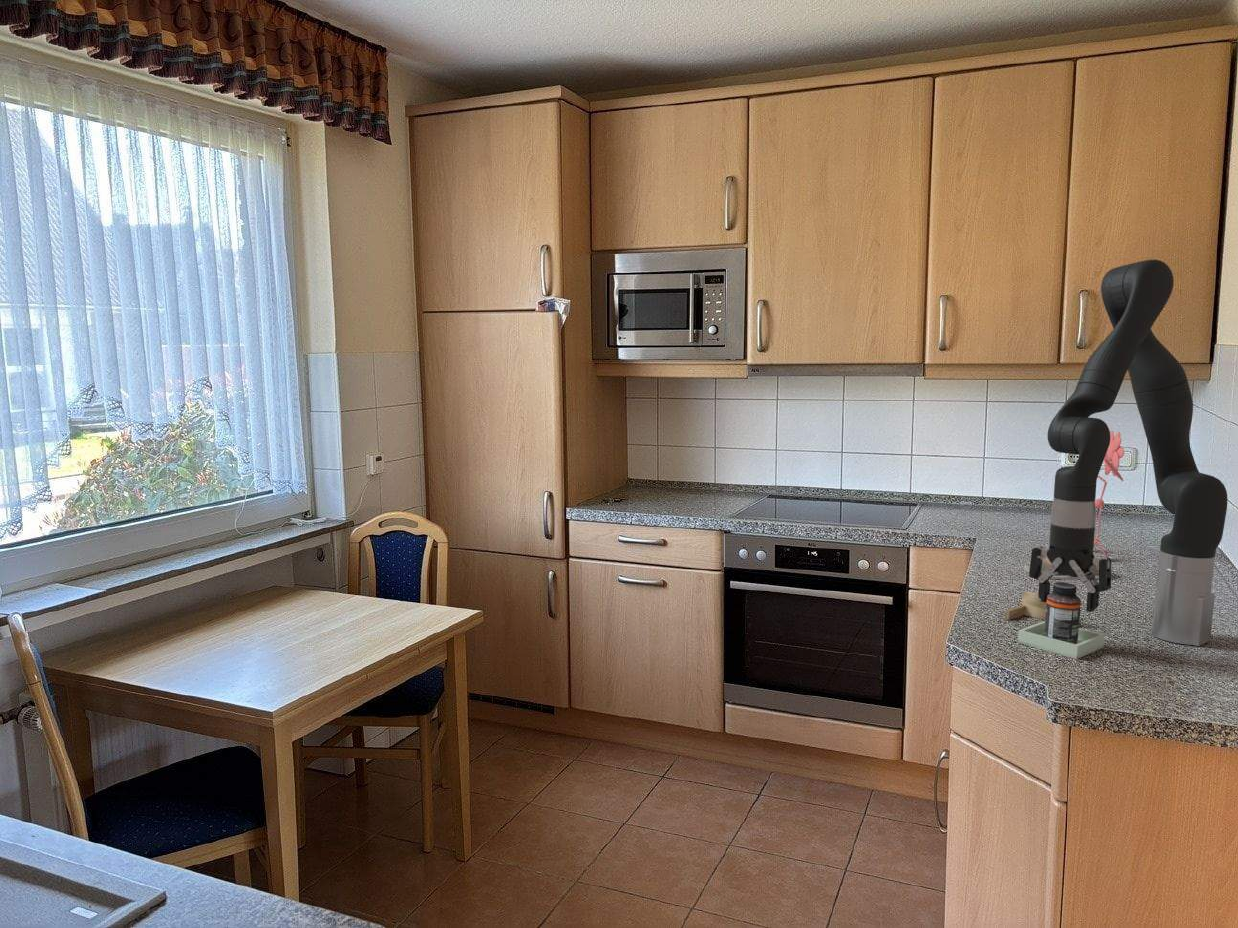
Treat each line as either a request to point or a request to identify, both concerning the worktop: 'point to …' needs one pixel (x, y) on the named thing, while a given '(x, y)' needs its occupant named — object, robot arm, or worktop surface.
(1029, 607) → the wooden footstool
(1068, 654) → the sage tray
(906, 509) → the worktop surface
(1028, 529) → the worktop surface
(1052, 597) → the supplement bottle
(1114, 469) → the figurine
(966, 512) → the worktop surface
